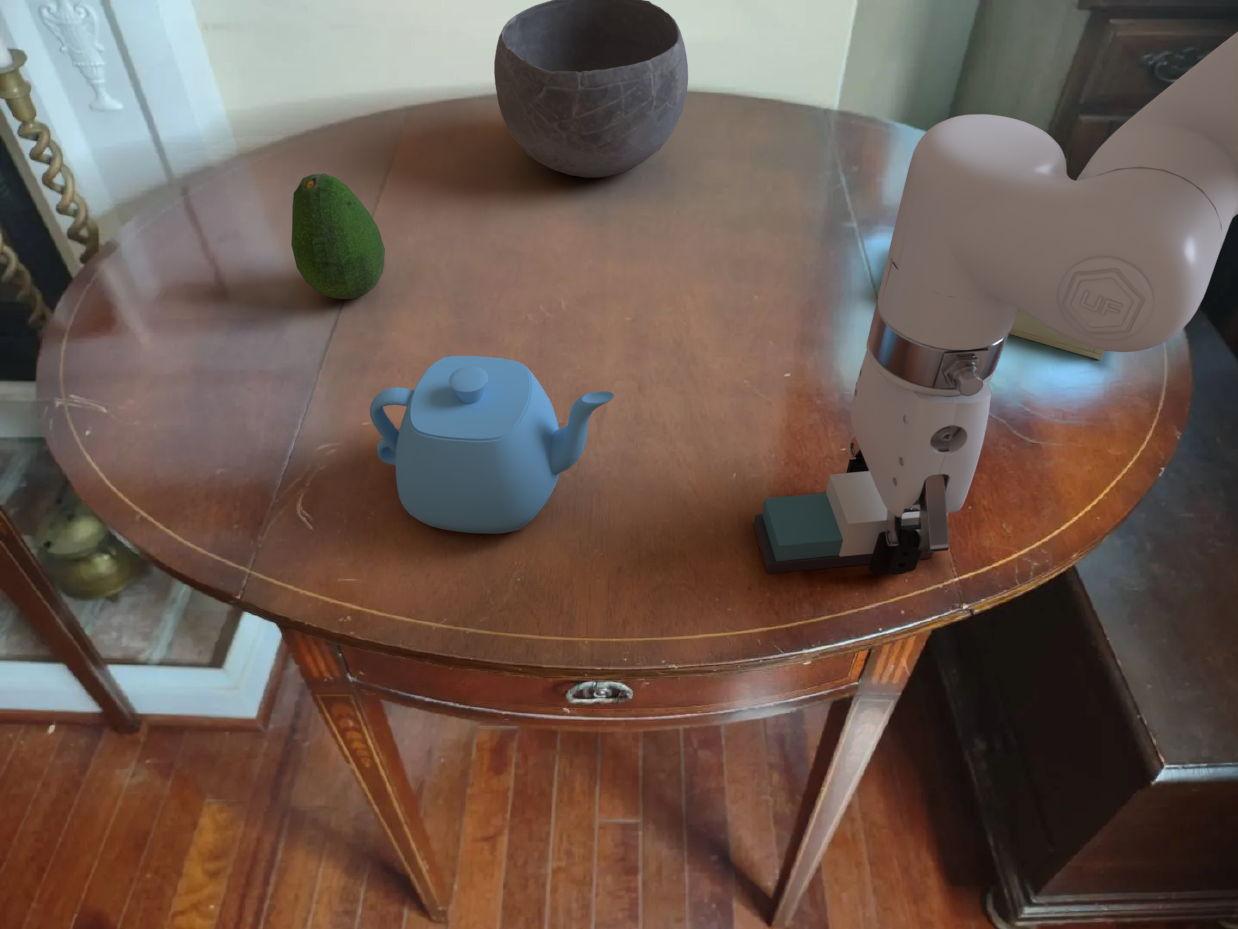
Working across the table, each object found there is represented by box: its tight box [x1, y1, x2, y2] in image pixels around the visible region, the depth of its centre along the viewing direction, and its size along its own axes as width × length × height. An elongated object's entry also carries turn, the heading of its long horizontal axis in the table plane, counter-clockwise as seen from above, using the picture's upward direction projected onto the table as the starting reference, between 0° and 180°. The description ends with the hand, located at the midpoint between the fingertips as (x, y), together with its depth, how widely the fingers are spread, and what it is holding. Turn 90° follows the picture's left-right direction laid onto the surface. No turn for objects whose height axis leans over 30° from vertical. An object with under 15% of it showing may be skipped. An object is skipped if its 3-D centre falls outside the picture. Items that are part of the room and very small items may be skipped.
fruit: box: [290, 173, 386, 300], centre depth 85 cm, size 8×8×12 cm
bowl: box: [493, 0, 689, 178], centre depth 102 cm, size 20×20×15 cm
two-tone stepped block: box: [752, 471, 949, 575], centre depth 67 cm, size 12×5×5 cm, turn 97°
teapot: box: [369, 355, 615, 535], centre depth 69 cm, size 13×11×18 cm
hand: (876, 531), depth 68 cm, fingers open, 6 cm apart
